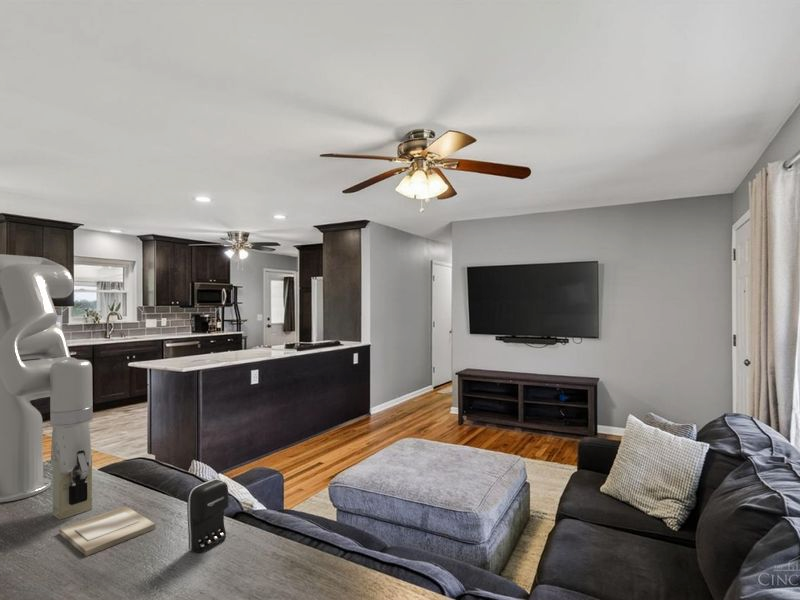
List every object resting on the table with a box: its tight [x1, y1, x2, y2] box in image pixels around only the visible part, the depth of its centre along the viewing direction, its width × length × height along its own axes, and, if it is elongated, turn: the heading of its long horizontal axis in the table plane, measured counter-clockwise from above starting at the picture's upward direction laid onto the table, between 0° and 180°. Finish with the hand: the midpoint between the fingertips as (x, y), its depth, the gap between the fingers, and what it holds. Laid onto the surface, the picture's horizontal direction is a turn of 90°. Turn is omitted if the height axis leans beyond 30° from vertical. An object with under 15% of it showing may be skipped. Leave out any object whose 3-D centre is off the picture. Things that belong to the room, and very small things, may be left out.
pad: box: [59, 505, 157, 557], centre depth 89 cm, size 14×12×1 cm
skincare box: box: [52, 454, 93, 520], centre depth 98 cm, size 6×4×12 cm
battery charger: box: [186, 478, 230, 553], centre depth 83 cm, size 7×4×11 cm, turn 150°
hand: (72, 498), depth 98 cm, fingers open, 5 cm apart
